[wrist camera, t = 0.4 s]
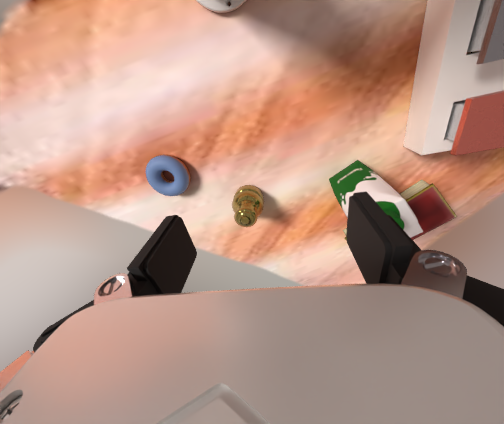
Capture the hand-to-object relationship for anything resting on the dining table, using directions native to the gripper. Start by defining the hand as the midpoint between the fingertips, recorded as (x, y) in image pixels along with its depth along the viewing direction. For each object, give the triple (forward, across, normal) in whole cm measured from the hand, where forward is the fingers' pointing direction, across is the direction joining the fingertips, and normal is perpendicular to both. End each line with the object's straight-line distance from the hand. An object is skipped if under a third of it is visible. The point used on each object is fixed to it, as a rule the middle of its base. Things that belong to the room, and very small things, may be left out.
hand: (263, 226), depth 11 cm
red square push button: (+31, -32, +4) cm, 45 cm away
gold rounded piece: (+36, +7, +17) cm, 40 cm away
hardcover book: (+36, -27, +28) cm, 53 cm away
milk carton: (+36, -17, +16) cm, 42 cm away
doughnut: (+36, +25, +7) cm, 44 cm away
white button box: (+35, -32, -2) cm, 48 cm away
